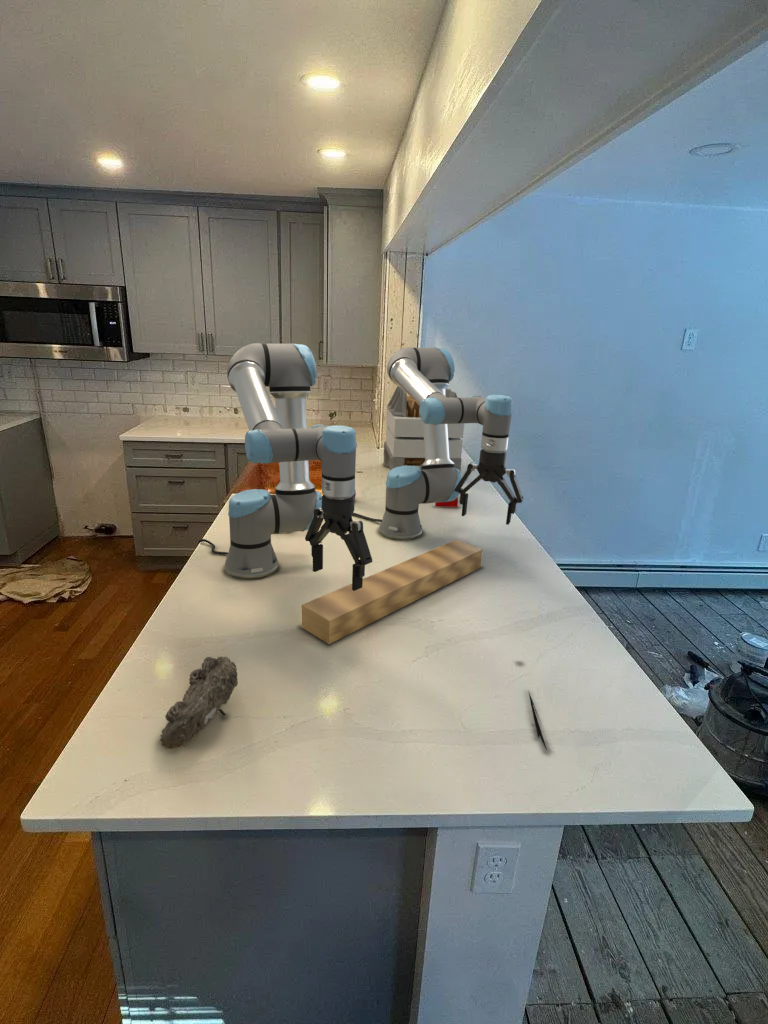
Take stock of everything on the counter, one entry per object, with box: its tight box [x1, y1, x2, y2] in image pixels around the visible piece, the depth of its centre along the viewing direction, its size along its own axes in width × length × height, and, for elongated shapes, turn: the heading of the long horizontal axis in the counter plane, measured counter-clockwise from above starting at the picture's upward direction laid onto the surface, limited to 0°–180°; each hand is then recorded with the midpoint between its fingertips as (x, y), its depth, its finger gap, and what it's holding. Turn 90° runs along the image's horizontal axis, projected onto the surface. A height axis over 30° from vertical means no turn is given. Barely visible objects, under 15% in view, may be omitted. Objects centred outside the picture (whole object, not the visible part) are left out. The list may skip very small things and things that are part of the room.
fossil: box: [160, 656, 239, 749], centre depth 107 cm, size 22×10×15 cm
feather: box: [528, 689, 548, 751], centre depth 116 cm, size 2×28×2 cm
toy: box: [434, 494, 460, 508], centre depth 240 cm, size 12×13×30 cm
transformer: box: [383, 385, 465, 475], centre depth 268 cm, size 34×33×41 cm
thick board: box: [301, 539, 484, 645], centre depth 157 cm, size 63×10×6 cm, turn 137°
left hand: (336, 579), depth 136 cm, fingers open, 13 cm apart
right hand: (485, 519), depth 170 cm, fingers open, 13 cm apart
